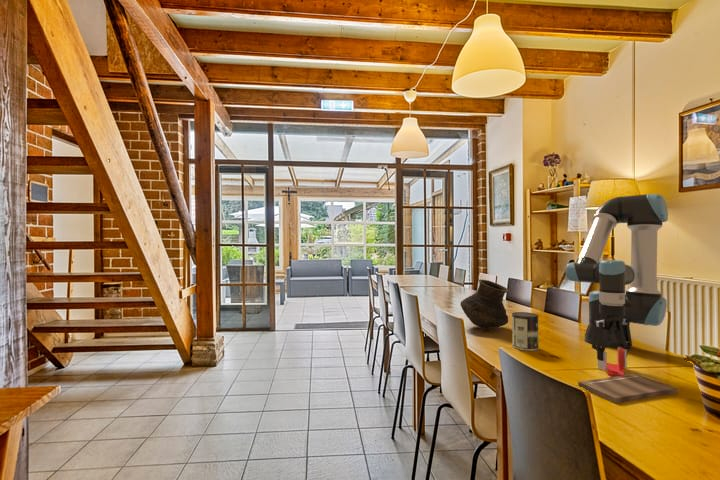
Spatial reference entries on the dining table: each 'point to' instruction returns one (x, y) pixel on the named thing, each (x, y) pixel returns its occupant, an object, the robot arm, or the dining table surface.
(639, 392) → the walnut board
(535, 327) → the coffee can
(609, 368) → the bracket
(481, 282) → the ceramic pot
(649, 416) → the dining table surface
